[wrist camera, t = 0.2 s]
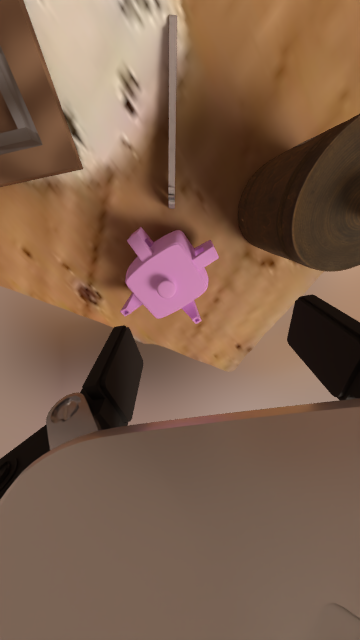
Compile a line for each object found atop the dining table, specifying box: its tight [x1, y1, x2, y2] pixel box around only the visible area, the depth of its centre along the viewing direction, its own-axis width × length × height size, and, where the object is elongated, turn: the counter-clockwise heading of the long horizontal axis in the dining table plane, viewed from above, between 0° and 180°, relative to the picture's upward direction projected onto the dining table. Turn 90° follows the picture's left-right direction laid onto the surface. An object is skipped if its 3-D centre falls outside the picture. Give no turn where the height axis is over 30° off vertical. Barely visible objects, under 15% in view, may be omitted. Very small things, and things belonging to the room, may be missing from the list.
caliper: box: [168, 15, 177, 208], centre depth 25 cm, size 20×1×6 cm, turn 178°
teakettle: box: [120, 227, 219, 324], centre depth 34 cm, size 17×17×12 cm
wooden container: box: [238, 114, 360, 271], centre depth 23 cm, size 15×15×22 cm
